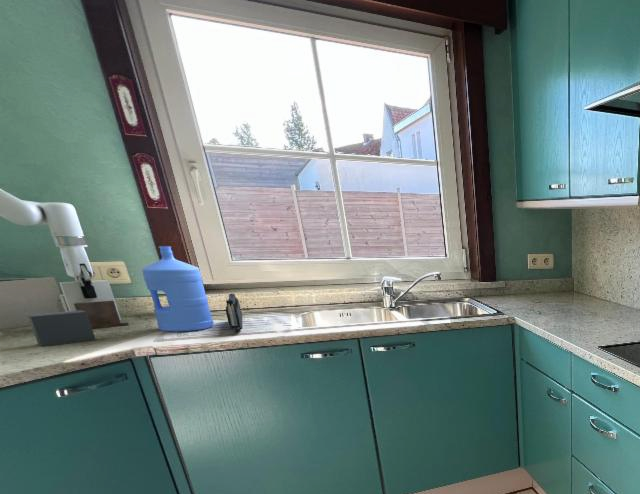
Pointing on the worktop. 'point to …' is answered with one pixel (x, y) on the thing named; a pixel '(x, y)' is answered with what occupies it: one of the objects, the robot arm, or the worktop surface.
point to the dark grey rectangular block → (61, 327)
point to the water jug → (178, 294)
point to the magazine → (234, 313)
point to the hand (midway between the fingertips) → (89, 297)
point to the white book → (76, 296)
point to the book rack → (98, 313)
